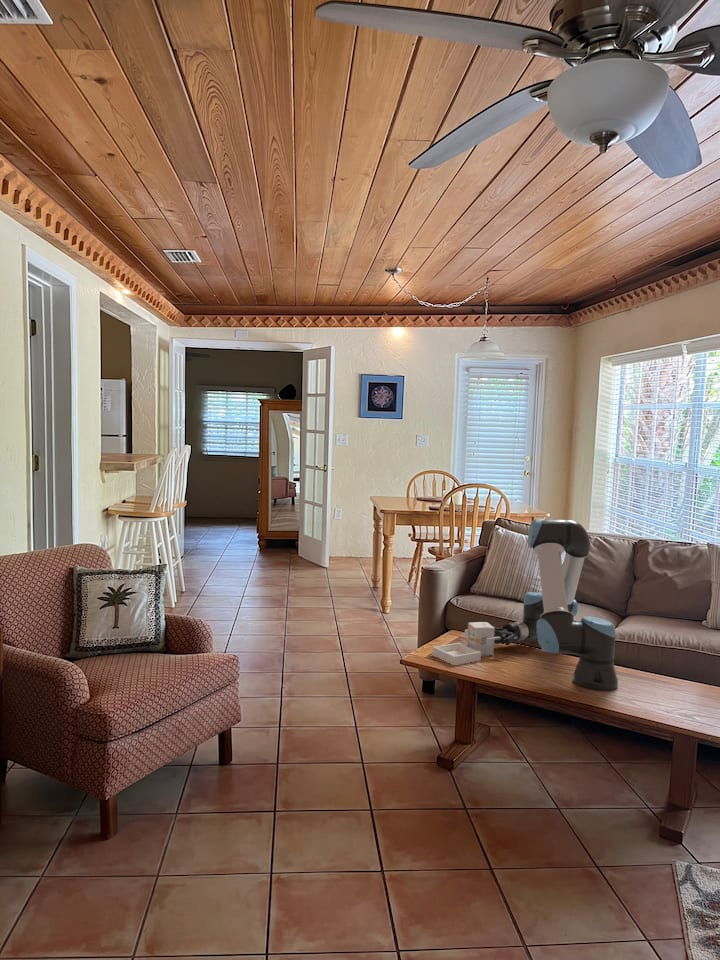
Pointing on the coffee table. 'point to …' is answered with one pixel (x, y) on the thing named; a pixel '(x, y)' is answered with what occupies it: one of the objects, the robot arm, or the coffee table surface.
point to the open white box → (456, 653)
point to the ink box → (480, 637)
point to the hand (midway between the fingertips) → (476, 637)
